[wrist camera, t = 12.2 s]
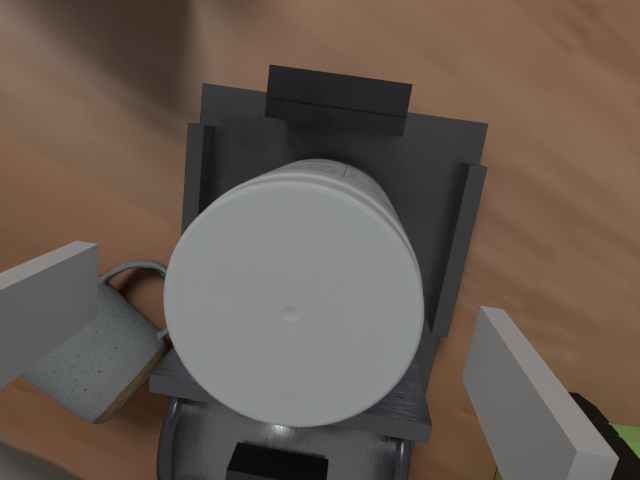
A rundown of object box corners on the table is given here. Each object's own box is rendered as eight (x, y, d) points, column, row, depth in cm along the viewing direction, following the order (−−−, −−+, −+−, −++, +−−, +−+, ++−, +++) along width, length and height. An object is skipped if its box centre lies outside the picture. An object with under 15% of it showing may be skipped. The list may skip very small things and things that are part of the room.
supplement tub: (313, 318, 31) (271, 479, 17) (224, 215, 30) (99, 295, 16) (426, 237, 29) (487, 342, 15) (335, 121, 28) (306, 114, 13)
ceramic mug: (134, 390, 35) (74, 458, 28) (54, 323, 34) (-30, 375, 27) (217, 302, 33) (176, 351, 25) (132, 228, 32) (64, 256, 24)
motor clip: (209, 68, 28) (106, 27, 17) (487, 107, 27) (576, 92, 16) (184, 421, 35) (99, 559, 24) (405, 463, 34) (427, 628, 23)
